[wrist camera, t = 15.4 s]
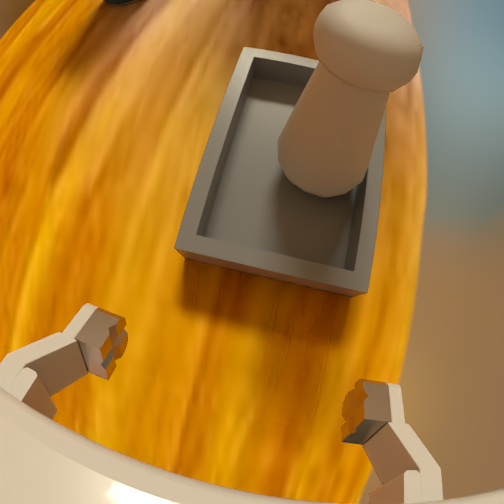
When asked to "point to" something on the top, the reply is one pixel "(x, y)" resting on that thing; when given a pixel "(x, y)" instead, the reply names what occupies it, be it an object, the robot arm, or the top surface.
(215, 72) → the top surface
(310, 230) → the trough
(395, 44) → the salt shaker
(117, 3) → the soda can
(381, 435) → the robot arm
